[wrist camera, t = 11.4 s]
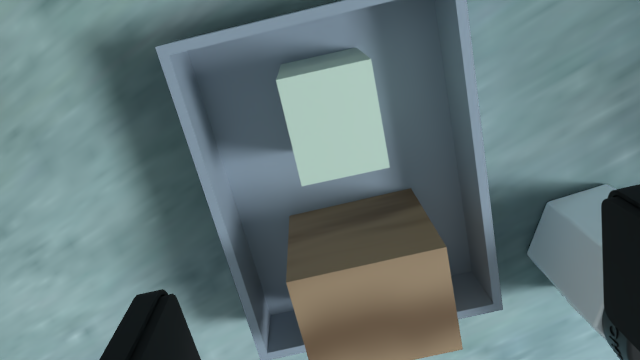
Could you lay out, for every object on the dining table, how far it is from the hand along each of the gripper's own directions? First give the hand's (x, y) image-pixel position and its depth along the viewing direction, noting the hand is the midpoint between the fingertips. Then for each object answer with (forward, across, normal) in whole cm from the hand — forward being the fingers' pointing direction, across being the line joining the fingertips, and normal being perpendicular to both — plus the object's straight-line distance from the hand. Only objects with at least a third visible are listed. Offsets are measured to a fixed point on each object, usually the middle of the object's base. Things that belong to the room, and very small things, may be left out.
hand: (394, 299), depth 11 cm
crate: (+24, 0, +5) cm, 25 cm away
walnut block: (+23, 0, +11) cm, 26 cm away
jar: (+24, -17, +15) cm, 33 cm away
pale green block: (+23, 0, 0) cm, 23 cm away
